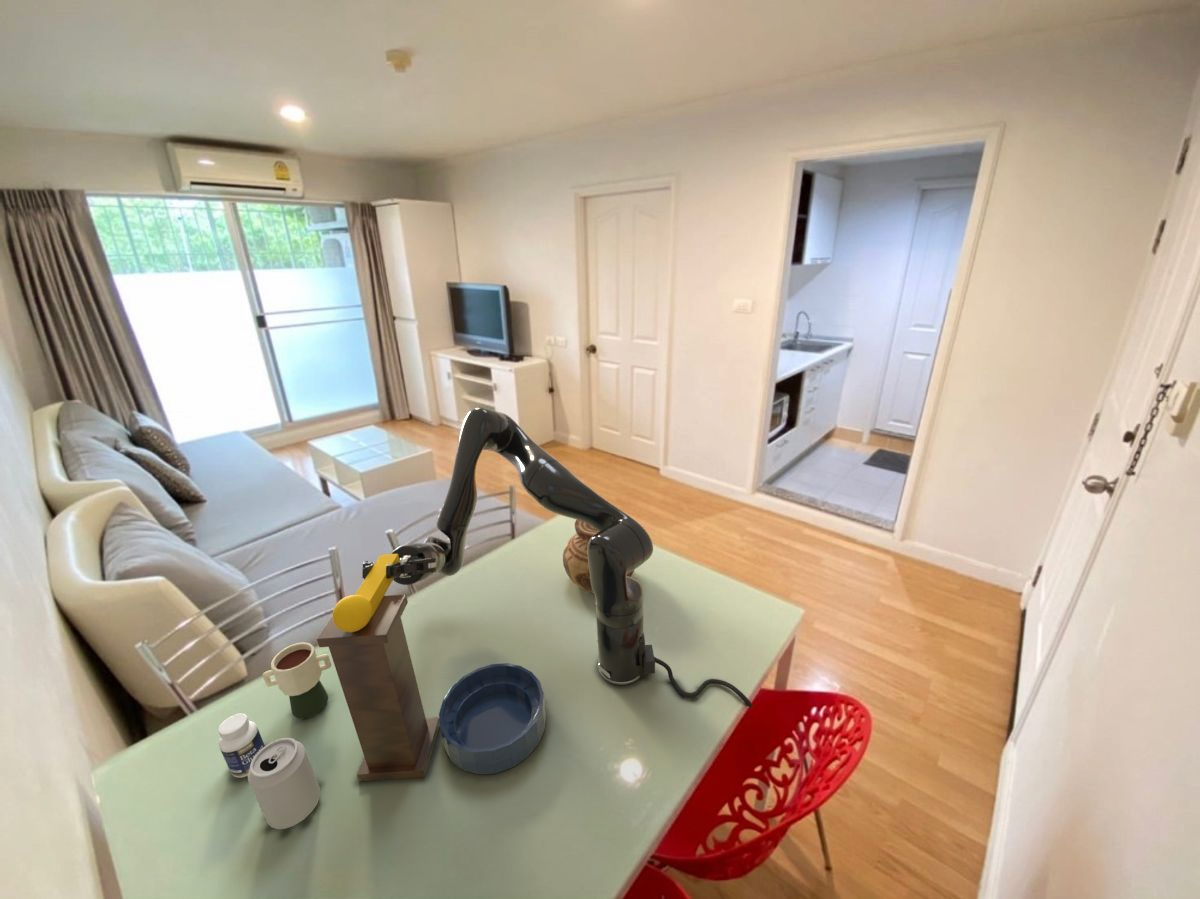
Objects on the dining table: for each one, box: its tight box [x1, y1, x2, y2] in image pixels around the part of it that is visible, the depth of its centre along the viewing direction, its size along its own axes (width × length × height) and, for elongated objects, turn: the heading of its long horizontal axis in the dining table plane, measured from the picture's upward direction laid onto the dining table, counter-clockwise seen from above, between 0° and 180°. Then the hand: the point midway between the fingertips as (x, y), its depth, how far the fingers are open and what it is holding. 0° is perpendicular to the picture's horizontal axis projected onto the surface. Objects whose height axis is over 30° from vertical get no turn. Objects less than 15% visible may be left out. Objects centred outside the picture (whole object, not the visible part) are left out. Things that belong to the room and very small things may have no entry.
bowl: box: [438, 662, 547, 775], centre depth 89 cm, size 18×18×6 cm
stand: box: [316, 594, 440, 782], centre depth 81 cm, size 11×10×30 cm
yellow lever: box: [331, 553, 400, 632], centre depth 77 cm, size 5×18×5 cm, turn 2°
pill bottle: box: [217, 712, 266, 779], centre depth 84 cm, size 5×5×10 cm
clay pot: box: [562, 519, 635, 594], centre depth 125 cm, size 19×19×20 cm
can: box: [247, 737, 322, 830], centre depth 76 cm, size 8×8×12 cm
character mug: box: [262, 641, 332, 720], centre depth 93 cm, size 11×7×13 cm, turn 113°
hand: (377, 572), depth 80 cm, fingers closed on yellow lever, 3 cm apart
